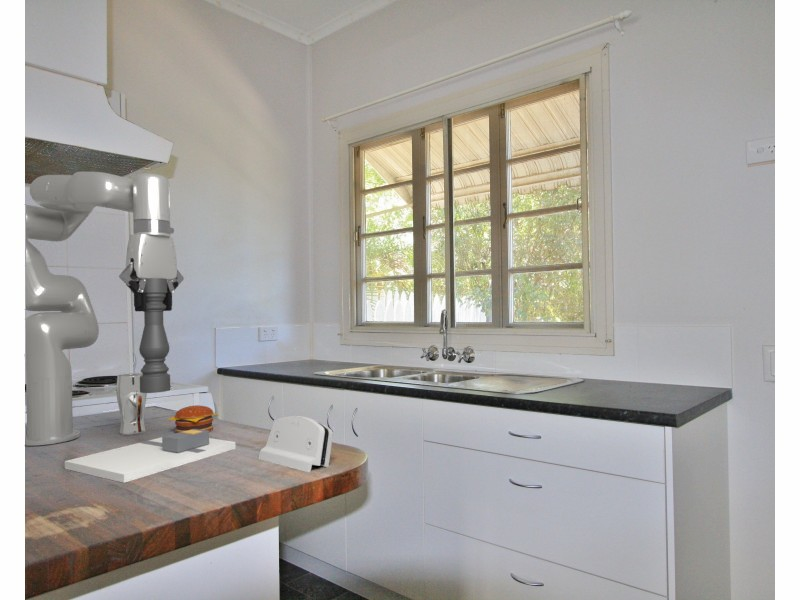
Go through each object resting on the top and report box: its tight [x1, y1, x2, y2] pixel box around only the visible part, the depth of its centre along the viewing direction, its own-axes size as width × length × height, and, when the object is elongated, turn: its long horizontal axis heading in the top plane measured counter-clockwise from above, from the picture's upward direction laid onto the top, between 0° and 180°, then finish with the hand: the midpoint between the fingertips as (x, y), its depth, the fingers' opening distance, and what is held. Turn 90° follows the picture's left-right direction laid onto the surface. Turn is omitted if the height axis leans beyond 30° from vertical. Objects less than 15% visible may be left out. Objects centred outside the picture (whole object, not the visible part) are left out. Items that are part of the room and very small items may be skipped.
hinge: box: [258, 415, 334, 473], centre depth 109 cm, size 17×5×10 cm, turn 49°
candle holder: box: [138, 278, 171, 394], centre depth 120 cm, size 6×6×25 cm
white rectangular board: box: [64, 436, 236, 484], centre depth 114 cm, size 20×26×2 cm
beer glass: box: [116, 372, 148, 436], centre depth 139 cm, size 7×7×15 cm
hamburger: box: [168, 404, 220, 433], centre depth 139 cm, size 9×10×7 cm
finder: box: [162, 429, 210, 453], centre depth 116 cm, size 5×8×3 cm, turn 149°
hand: (153, 310), depth 120 cm, fingers closed on candle holder, 5 cm apart
